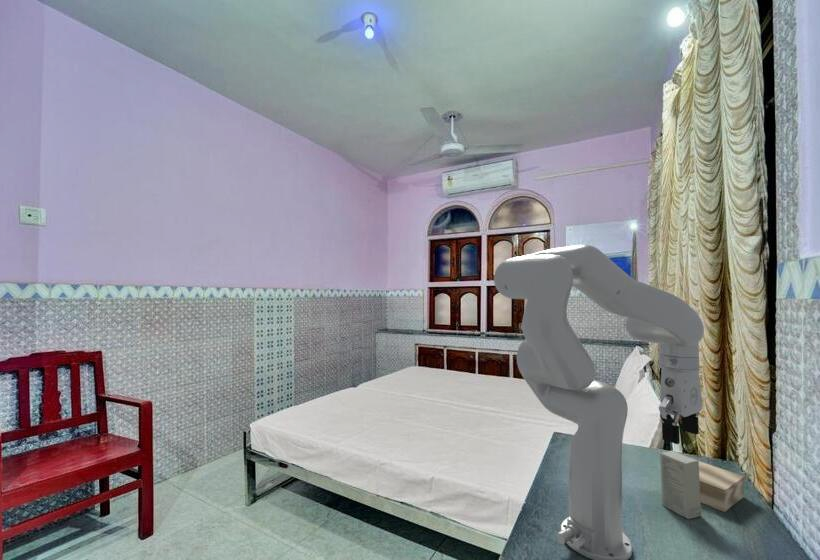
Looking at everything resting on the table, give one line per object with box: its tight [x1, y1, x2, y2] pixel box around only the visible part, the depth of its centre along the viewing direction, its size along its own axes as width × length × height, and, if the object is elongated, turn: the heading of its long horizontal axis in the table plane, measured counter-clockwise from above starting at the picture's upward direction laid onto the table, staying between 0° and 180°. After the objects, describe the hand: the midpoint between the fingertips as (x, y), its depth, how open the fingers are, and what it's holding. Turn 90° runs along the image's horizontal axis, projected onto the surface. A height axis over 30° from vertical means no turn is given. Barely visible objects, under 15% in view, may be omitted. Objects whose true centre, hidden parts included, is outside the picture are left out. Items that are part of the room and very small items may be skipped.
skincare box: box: [659, 450, 702, 520], centre depth 83 cm, size 6×4×12 cm
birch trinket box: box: [698, 460, 746, 513], centre depth 90 cm, size 12×9×5 cm
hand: (680, 437), depth 84 cm, fingers open, 9 cm apart
